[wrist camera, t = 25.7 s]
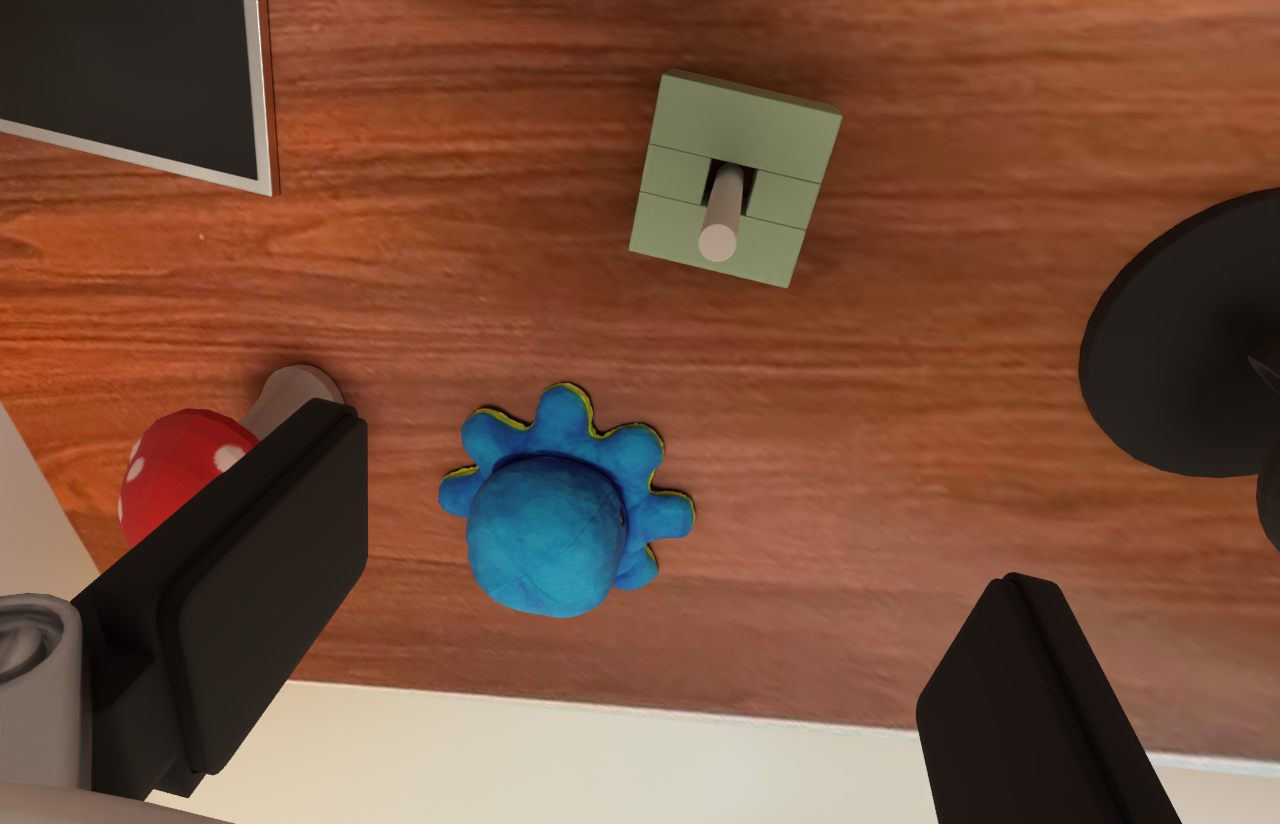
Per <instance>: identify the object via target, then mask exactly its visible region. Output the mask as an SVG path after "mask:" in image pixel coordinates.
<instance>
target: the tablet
mask: <svg viewBox="0 0 1280 824" xmlns="http://www.w3.org/2000/svg"><path fill="white" fill-rule="evenodd" d="M0 131H1V132H5V133H9V134H13V135H17V136H21V137H25V138H29V139H34V140H38V141H42V142H46V143H50V144H54V145H58V146H63V147H67V148H71V149H75V150H79V151H83V152H87V153H92V154H96V155H100V156H104V157H108V158H112V159H116V160H121V161H125V162H129V163H133V164H137V165H141V166H145V167H149V168H154V169H158V170H162V171H166V172H170V173H174V174H178V175H183V176H187V177H191V178H195V179H199V180H203V181H207V182H212V183H216V184H220V185H224V186H228V187H232V188H236V189H241V190H245V191H249V192H253V193H257V194H261V195H265V196H269V197H274V196H276V195H279V194H280V189H279V174H278V159H277V144H276V130H275V115H274V100H273V85H272V70H271V55H270V41H269V26H268V11H267V0H0Z"/></svg>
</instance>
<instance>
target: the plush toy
mask: <svg viewBox="0 0 1280 824" xmlns="http://www.w3.org/2000/svg"><path fill="white" fill-rule="evenodd" d="M592 417H593V411H592V407H591V406H590V402H589V398H588V397H587V396H586V395H585V393H584V392H583V391H582V390H581V389H579V388H578V387H576V386H573V385H572V384H570V383H566V384H565V383H557V384H555V385H552V386H551V385H550V387H549V388H547V389H545V390H544V391H543V395H542V396H541V399H540V402H539V405H538V407H537V411H536V418H535V421H534V422H533V423H532V425H531V426H530V427H524V425H523V424H522V423H517V422H515V421H513V420H511V419H509V418H507V416H506V415H504V414H503V413H501V412H496V410H492V409H485V408H483V409H479V410H477V411H476V412H475V413H473V414H472V415H471V416H470V417H468V419H467V420H466V422H465V423H464V424H463V426H462V428H461V431H462V444H463V446H464V448H465V450H466V452H467V453H468V454H469V456H470V457H471V458H472V459H473V461H474V462H475V463H476V464H477V465H478V466H476V467H475V468H474V467H470V468H469V469H467V468H461V469H460V470H459V471H457V472H452V473H450V474H448V475H446V476H444V478H443V480H442V481H441V483H440V487H439V503H440V505H441V507H442V508H443V509H444V510H445V511H447V512H448V513H450V514H452V515H455V516H459V517H464V518H467V526H466V540H467V544H468V559H469V562H470V565H471V568H472V571H473V574H474V577H475V579H476V581H477V583H478V585H479V586H480V587H481V589H483V590H484V591H485V592H486V593H487V594H488V596H490V597H491V598H492V599H493V600H495V601H497V602H498V603H500V604H502V605H504V606H507V607H509V608H512V609H515V610H520V611H524V612H529V613H534V614H540V615H546V616H552V617H559V618H568V617H574V616H578V615H580V614H583V613H586V612H588V611H590V610H592V609H593V608H595V607H597V606H598V605H600V604H601V603H602V602H603V601H604V599H605V598H606V597H607V595H608V593H609V592H610V590H611V588H612V586H614V587H616V588H618V589H621V590H625V591H629V590H634V589H639V588H641V587H642V586H644V585H646V584H647V583H649V582H650V581H651V580H652V579H653V578H654V577H656V576H657V574H658V569H657V565H656V560H655V558H654V554H652V551H651V550H650V548H649V547H648V548H647V543H648V542H651V541H654V540H657V539H665V538H682V537H685V536H686V535H688V534H689V533H690V532H691V530H692V527H693V524H694V522H695V511H694V509H693V504H692V501H691V499H690V498H687V497H686V496H685V495H682V494H681V493H676V492H674V491H673V492H671V491H669V492H667V491H663V492H654V491H651V490H650V489H651V488H650V483H651V479H652V478H653V475H654V472H655V469H656V468H657V467H658V466H659V465H660V463H661V462H662V460H663V457H664V449H663V443H662V442H661V439H660V438H659V437H658V435H657V434H656V433H655V431H654V430H653V429H651V428H650V427H648V426H646V425H644V424H640V425H639V424H638V423H635V424H630V425H623V426H619V427H618V428H616V429H613V430H612V431H611V432H607V433H606V434H605V435H604V436H599V435H597V434H596V431H595V429H594V428H592V424H591V422H592Z"/></svg>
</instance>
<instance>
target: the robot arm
mask: <svg viewBox="0 0 1280 824" xmlns="http://www.w3.org/2000/svg"><path fill="white" fill-rule="evenodd" d="M367 558H368V441H367V423H366V421H365V420H364V419H361V418H358V414H357V411H356V409H355V408H354V407H352V406H349V405H345V404H341V403H337V402H333V401H329V400H325V399H321V398H312V399H310V400H309V401H307V402H306V403H305V404H304V405H303V406H301V407H300V408H299V409H298V410H297V411H296V412H294V413H293V414H292V415H291V416H290V417H289V418H287V419H286V420H285V421H284V422H283V423H282V424H280V425H279V426H278V427H277V428H276V429H274V430H273V431H272V432H271V433H270V434H269V435H267V436H266V437H265V438H264V439H263V440H262V441H260V442H259V443H258V444H257V445H256V446H255V447H253V448H252V449H251V450H250V451H249V452H248V453H246V454H245V455H244V456H243V457H242V458H241V459H239V460H238V461H237V462H236V463H235V464H234V465H232V466H231V467H230V468H229V469H228V470H226V471H225V472H223V473H222V474H220V475H219V476H217V477H216V478H215V479H213V480H212V481H211V482H210V483H209V484H207V485H206V486H205V487H204V488H203V489H202V490H200V491H199V492H198V493H197V494H196V495H195V496H193V497H192V498H191V499H190V500H189V501H188V502H186V503H185V504H184V505H183V506H182V507H180V508H179V509H178V510H177V511H176V512H175V513H173V514H172V515H171V516H170V517H169V518H168V519H166V520H165V521H164V522H163V523H162V524H160V525H159V526H158V527H157V528H156V529H155V530H153V531H152V532H151V533H150V534H149V535H148V536H146V537H145V538H144V539H143V540H142V541H140V542H139V543H138V544H137V545H136V546H135V547H133V548H132V549H131V550H130V551H129V552H128V553H126V554H125V555H124V556H123V557H122V558H120V559H119V560H118V561H117V562H116V563H115V564H113V565H112V566H111V567H110V568H109V569H108V570H106V571H105V572H104V573H103V574H102V575H100V576H99V577H98V578H97V579H96V580H95V581H93V582H92V583H91V584H90V585H89V586H88V587H86V588H85V589H84V590H83V591H82V592H81V593H79V594H78V595H77V596H76V597H75V598H73V599H72V600H71V601H70V602H68V601H67V600H64V599H61V598H58V597H55V596H53V595H47V594H34V593H24V594H16V595H8V596H1V597H0V824H234V823H230V822H225V821H222V820H218V819H214V818H209V817H206V816H201V815H198V814H193V813H189V812H185V811H181V810H177V809H173V808H169V807H165V806H161V805H157V804H153V803H149V802H144V800H145V799H146V798H147V796H148V795H149V794H150V793H151V791H152V790H153V789H155V790H159V791H163V792H167V793H170V794H174V795H178V796H181V797H185V798H189V797H190V795H191V794H192V793H193V791H194V790H195V789H196V787H197V786H198V785H199V783H200V782H201V780H202V779H203V778H204V776H205V775H206V774H209V775H215V774H218V773H219V772H220V771H221V770H222V769H223V768H224V767H225V766H226V765H227V763H228V762H229V760H230V759H231V758H232V756H233V755H234V754H235V752H236V751H237V749H238V748H239V746H240V745H241V744H242V742H243V741H244V740H245V738H246V737H247V735H248V734H249V732H250V731H251V730H252V728H253V727H254V726H255V724H256V723H257V721H258V720H259V718H260V717H261V716H262V714H263V713H264V711H265V710H266V709H267V707H268V706H269V704H270V703H271V702H272V700H273V699H274V697H275V696H276V694H277V693H278V692H279V690H280V689H281V688H282V686H283V685H284V683H285V682H286V681H287V679H288V678H289V676H290V675H291V674H292V672H293V671H294V669H295V668H296V667H297V665H298V664H299V662H300V661H301V660H302V658H303V657H304V655H305V654H306V653H307V651H308V650H309V648H310V647H311V645H312V644H313V643H314V641H315V640H316V638H317V637H318V636H319V634H320V633H321V631H322V630H323V629H324V627H325V626H326V624H327V623H328V622H329V620H330V619H331V617H332V616H333V615H334V613H335V612H336V610H337V609H338V608H339V606H340V605H341V603H342V602H343V601H344V599H345V598H346V596H347V595H348V594H349V592H350V591H351V589H352V588H353V587H354V585H355V584H356V582H357V581H358V580H359V578H360V576H361V575H362V573H363V571H364V568H365V565H366V562H367ZM916 722H917V727H918V731H919V736H920V741H921V745H922V750H923V754H924V759H925V764H926V768H927V772H928V777H929V782H930V786H931V791H932V796H933V800H934V804H935V809H936V814H937V819H938V823H939V824H1182V823H1181V821H1180V819H1179V817H1178V815H1177V813H1176V811H1175V809H1174V807H1173V805H1172V804H1171V801H1170V799H1169V798H1168V796H1167V794H1166V792H1165V790H1164V788H1163V786H1162V784H1161V782H1160V780H1159V778H1158V776H1157V774H1156V772H1155V770H1154V769H1153V767H1152V765H1151V763H1150V761H1149V759H1148V757H1147V755H1146V753H1145V751H1144V749H1143V747H1142V745H1141V743H1140V742H1139V740H1138V738H1137V736H1136V734H1135V732H1134V730H1133V728H1132V726H1131V724H1130V722H1129V720H1128V718H1127V716H1126V715H1125V713H1124V711H1123V709H1122V707H1121V705H1120V703H1119V701H1118V699H1117V697H1116V695H1115V693H1114V691H1113V689H1112V688H1111V686H1110V684H1109V682H1108V680H1107V678H1106V676H1105V674H1104V672H1103V670H1102V668H1101V666H1100V664H1099V662H1098V661H1097V659H1096V657H1095V655H1094V653H1093V651H1092V649H1091V647H1090V645H1089V643H1088V641H1087V639H1086V637H1085V635H1084V634H1083V632H1082V630H1081V628H1080V626H1079V624H1078V622H1077V620H1076V618H1075V616H1074V614H1073V612H1072V610H1071V608H1070V607H1069V605H1068V603H1067V601H1066V599H1065V597H1064V595H1063V593H1062V591H1061V589H1060V588H1059V587H1058V585H1057V584H1055V583H1053V582H1051V581H1047V580H1043V579H1039V578H1035V577H1031V576H1027V575H1024V574H1020V573H1016V572H1012V573H1008V574H1007V575H1005V576H1004V577H1003V579H994V580H992V581H991V582H990V583H989V584H988V586H987V587H986V589H985V591H984V592H983V594H982V595H981V597H980V599H979V600H978V602H977V604H976V605H975V607H974V608H973V610H972V612H971V613H970V615H969V617H968V618H967V620H966V621H965V623H964V625H963V626H962V628H961V629H960V631H959V633H958V634H957V636H956V638H955V639H954V641H953V642H952V644H951V646H950V647H949V649H948V651H947V652H946V654H945V655H944V657H943V659H942V660H941V662H940V664H939V665H938V667H937V668H936V670H935V672H934V673H933V675H932V677H931V678H930V680H929V681H928V683H927V685H926V686H925V688H924V690H923V691H922V693H921V694H920V697H919V699H918V702H917V707H916Z"/></svg>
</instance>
